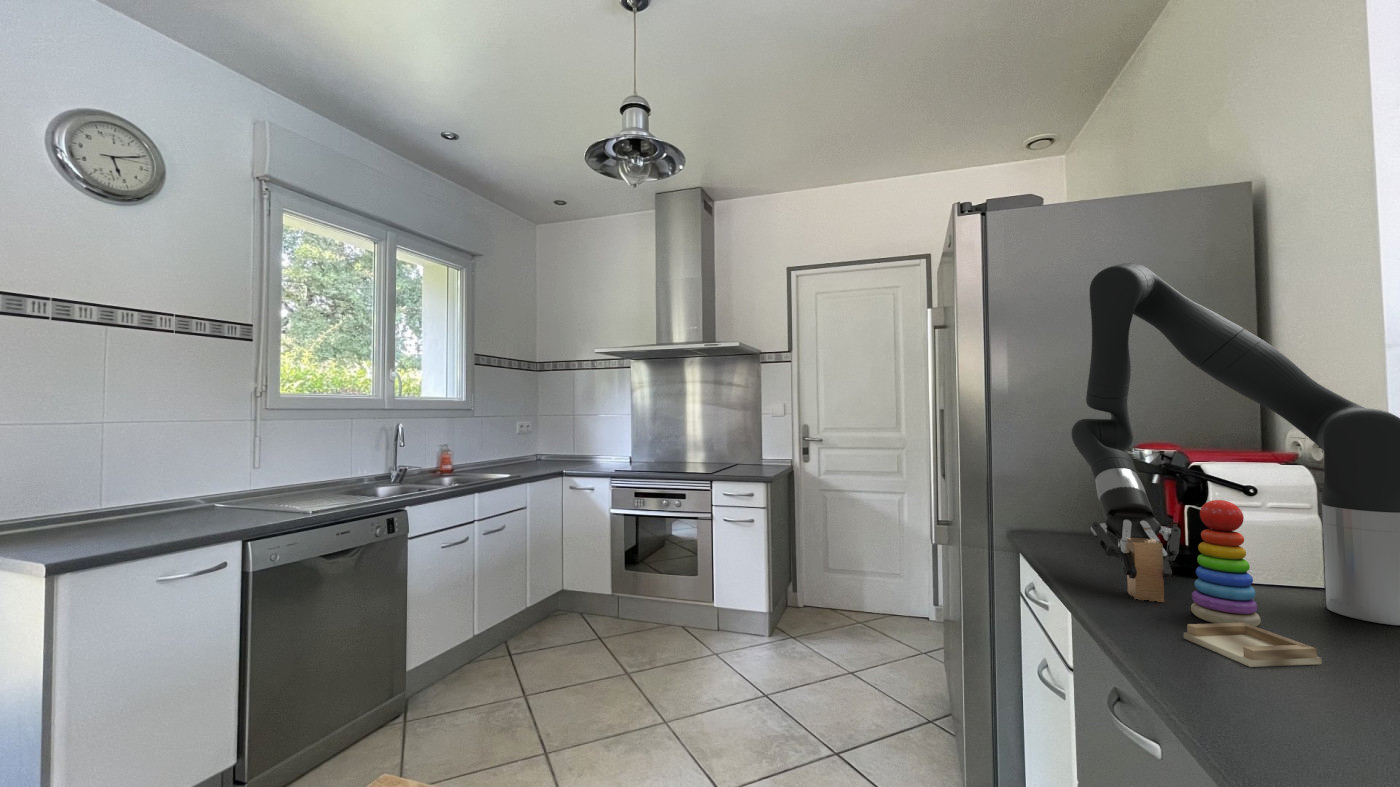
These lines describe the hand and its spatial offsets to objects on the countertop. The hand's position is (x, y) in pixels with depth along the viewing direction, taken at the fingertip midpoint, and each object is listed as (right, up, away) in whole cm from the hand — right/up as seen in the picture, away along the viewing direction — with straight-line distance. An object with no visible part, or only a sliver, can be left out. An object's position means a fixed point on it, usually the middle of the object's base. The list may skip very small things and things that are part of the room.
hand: (1149, 577), depth 96 cm
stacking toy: (+4, -4, -9) cm, 11 cm away
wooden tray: (-3, -3, -20) cm, 21 cm away
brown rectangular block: (+1, -4, +2) cm, 5 cm away
